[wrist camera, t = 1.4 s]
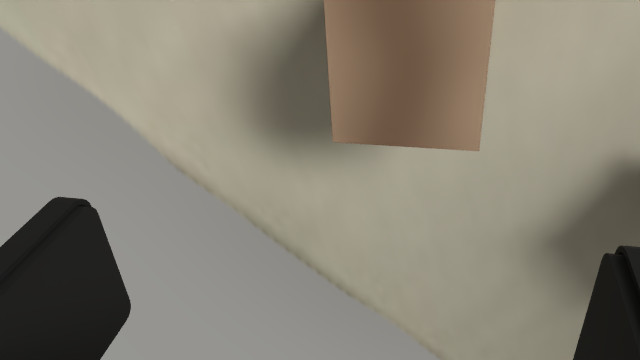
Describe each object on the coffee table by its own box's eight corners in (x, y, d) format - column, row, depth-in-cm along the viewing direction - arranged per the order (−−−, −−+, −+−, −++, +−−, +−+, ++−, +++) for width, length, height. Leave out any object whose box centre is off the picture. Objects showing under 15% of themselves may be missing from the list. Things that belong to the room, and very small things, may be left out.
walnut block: (491, -59, 22) (495, -2, 15) (479, 60, 24) (479, 151, 18) (367, -56, 23) (323, -1, 17) (370, 57, 26) (332, 141, 19)
